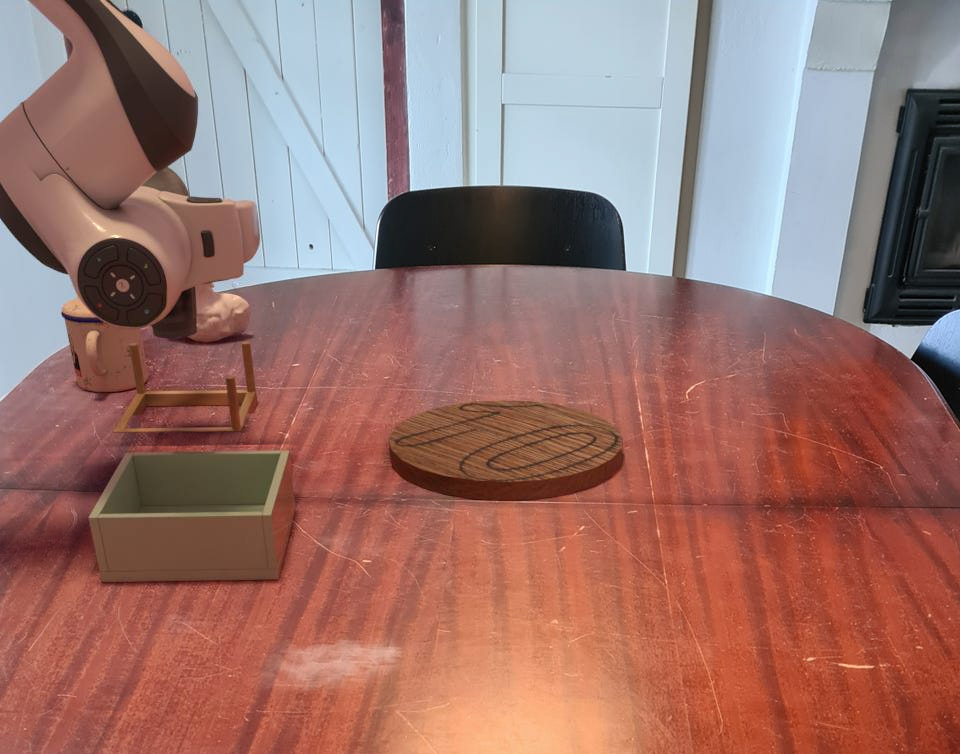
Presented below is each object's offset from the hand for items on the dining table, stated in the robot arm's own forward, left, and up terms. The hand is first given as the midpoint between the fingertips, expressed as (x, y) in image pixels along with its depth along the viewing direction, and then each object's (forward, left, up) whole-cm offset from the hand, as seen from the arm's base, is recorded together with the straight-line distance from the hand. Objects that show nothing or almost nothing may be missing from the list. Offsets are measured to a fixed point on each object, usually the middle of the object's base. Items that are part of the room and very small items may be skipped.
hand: (158, 213), depth 122 cm
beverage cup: (0, -1, -11) cm, 11 cm away
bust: (-5, +41, -23) cm, 47 cm away
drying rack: (-2, +7, -23) cm, 24 cm away
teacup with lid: (-14, +21, -23) cm, 34 cm away
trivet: (+34, -5, -23) cm, 42 cm away
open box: (+5, -27, -23) cm, 36 cm away
